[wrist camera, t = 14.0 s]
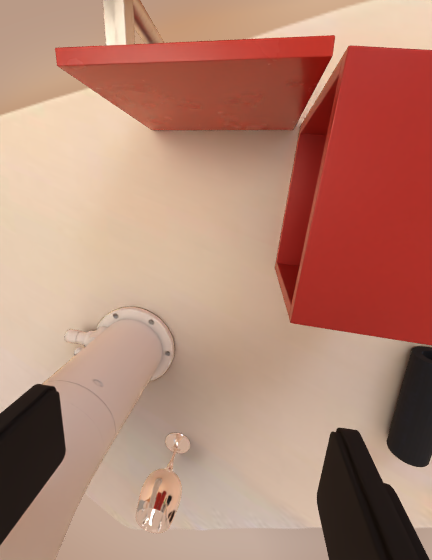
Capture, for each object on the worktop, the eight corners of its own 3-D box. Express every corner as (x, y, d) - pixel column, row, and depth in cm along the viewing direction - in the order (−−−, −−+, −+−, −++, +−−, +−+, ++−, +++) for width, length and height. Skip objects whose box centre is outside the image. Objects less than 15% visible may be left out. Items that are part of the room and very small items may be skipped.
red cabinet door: (149, 59, 31) (38, -87, 15) (300, 53, 29) (355, -123, 13) (151, 130, 33) (56, 66, 17) (293, 129, 31) (332, 56, 15)
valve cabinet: (274, 268, 36) (290, 323, 20) (300, 125, 31) (348, 44, 15) (368, 281, 35) (466, 351, 19) (410, 135, 30) (593, 58, 14)
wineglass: (162, 426, 46) (131, 500, 35) (195, 432, 46) (174, 510, 34) (161, 452, 48) (131, 530, 37) (193, 458, 47) (173, 540, 36)
